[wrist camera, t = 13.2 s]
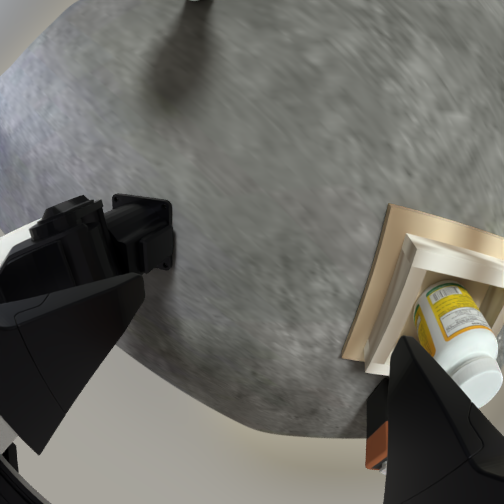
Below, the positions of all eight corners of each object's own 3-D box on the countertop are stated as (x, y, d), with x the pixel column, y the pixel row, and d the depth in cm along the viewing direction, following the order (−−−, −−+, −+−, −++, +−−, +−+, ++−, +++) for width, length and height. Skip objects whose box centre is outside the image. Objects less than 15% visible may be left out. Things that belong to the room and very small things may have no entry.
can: (66, 224, 28) (-14, 265, 17) (69, 269, 31) (1, 315, 20) (39, 210, 29) (-32, 243, 18) (42, 252, 31) (-20, 290, 21)
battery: (383, 375, 24) (388, 459, 15) (433, 384, 23) (447, 460, 14) (365, 399, 26) (362, 477, 17) (413, 407, 25) (419, 479, 16)
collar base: (341, 350, 24) (340, 382, 20) (388, 203, 18) (401, 218, 15) (459, 366, 21) (469, 393, 18) (519, 243, 15) (543, 262, 12)
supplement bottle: (439, 266, 18) (489, 348, 9) (477, 295, 17) (524, 374, 9) (398, 317, 20) (419, 411, 12) (438, 340, 20) (464, 426, 11)
